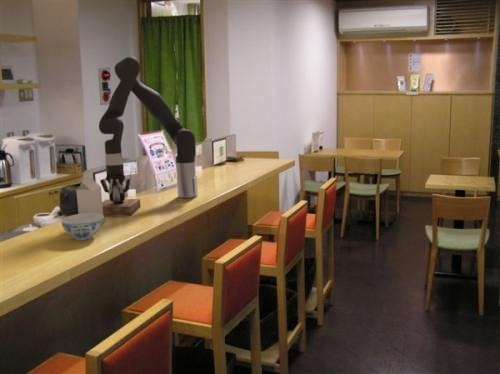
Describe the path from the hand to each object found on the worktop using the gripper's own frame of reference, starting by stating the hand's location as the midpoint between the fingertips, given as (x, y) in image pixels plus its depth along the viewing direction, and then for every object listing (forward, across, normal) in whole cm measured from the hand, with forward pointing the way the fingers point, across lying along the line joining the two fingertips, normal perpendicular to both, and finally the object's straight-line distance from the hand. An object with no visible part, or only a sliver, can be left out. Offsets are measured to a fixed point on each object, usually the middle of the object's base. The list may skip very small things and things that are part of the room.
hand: (117, 201), depth 261 cm
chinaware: (+5, +1, +42) cm, 42 cm away
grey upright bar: (+3, 0, 0) cm, 3 cm away
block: (+5, 0, 0) cm, 5 cm away
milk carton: (+5, +5, +21) cm, 22 cm away
